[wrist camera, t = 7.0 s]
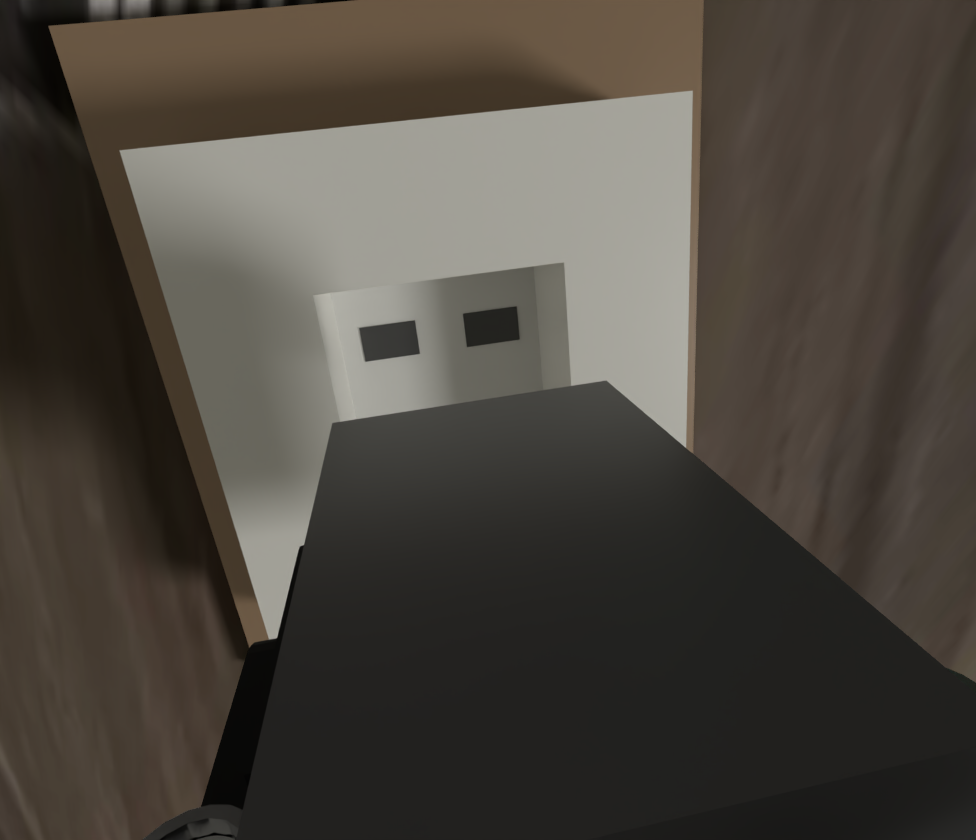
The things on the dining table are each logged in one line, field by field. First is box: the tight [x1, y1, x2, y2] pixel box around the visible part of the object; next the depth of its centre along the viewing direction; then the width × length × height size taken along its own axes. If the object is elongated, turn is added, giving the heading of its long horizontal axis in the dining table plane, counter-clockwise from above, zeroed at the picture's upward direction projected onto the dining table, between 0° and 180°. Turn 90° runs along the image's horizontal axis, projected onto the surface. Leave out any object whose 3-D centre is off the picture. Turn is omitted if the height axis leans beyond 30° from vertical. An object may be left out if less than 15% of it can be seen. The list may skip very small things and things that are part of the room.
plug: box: [236, 381, 976, 840], centre depth 8 cm, size 6×4×8 cm
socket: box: [49, 0, 704, 648], centre depth 17 cm, size 20×16×5 cm
